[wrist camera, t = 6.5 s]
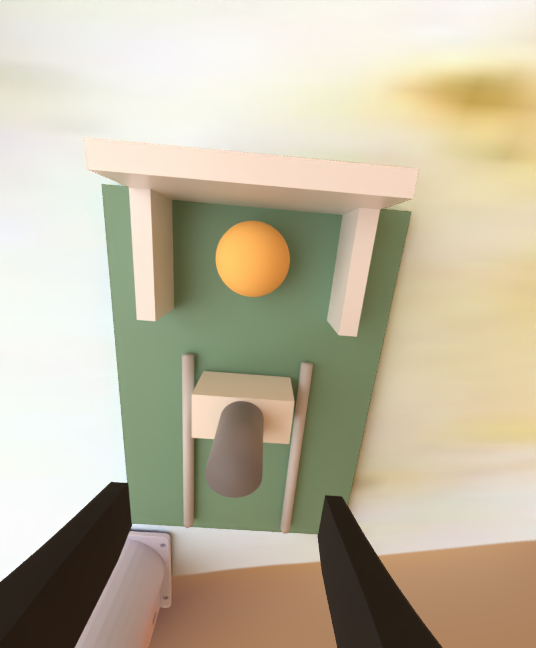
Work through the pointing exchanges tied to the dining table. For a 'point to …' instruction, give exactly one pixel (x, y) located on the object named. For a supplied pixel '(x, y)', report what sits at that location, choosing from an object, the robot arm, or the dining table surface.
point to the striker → (240, 426)
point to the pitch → (245, 364)
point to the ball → (252, 258)
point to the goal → (253, 191)
